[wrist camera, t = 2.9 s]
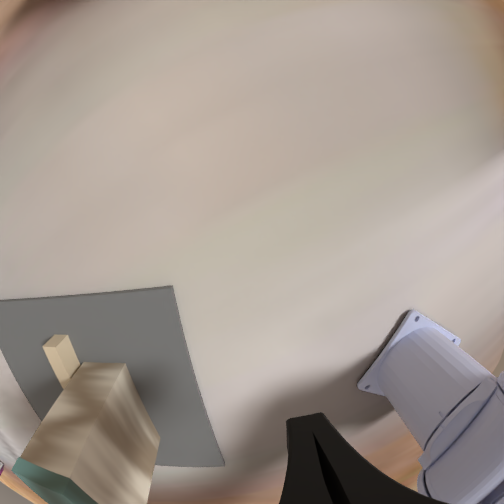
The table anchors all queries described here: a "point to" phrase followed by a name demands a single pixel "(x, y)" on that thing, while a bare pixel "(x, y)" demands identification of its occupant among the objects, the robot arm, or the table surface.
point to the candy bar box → (1, 467)
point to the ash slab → (93, 442)
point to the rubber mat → (113, 360)
